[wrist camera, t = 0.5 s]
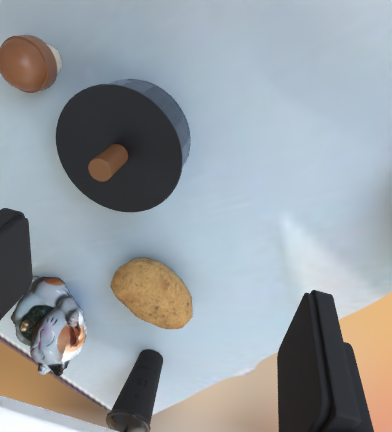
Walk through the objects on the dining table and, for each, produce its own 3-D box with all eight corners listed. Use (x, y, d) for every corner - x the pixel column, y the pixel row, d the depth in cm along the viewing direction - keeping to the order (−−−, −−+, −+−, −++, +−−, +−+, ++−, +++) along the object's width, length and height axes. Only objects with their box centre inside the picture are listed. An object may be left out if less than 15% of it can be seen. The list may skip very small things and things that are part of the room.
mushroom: (17, 47, 44) (-28, 52, 37) (53, 24, 42) (11, 26, 35) (45, 92, 46) (7, 105, 40) (80, 73, 44) (45, 83, 38)
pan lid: (36, 115, 42) (2, 129, 36) (144, 57, 36) (123, 64, 31) (103, 222, 48) (82, 247, 42) (205, 186, 42) (196, 210, 37)
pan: (65, 107, 47) (38, 119, 41) (159, 58, 41) (142, 64, 36) (120, 198, 52) (101, 220, 47) (208, 166, 47) (200, 186, 42)
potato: (177, 313, 62) (165, 350, 55) (113, 267, 59) (93, 299, 53) (212, 285, 57) (204, 321, 50) (145, 233, 55) (126, 264, 48)
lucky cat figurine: (40, 261, 62) (35, 318, 51) (100, 282, 68) (107, 337, 57) (1, 320, 65) (-12, 385, 54) (61, 334, 72) (61, 396, 61)
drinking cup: (170, 373, 71) (138, 486, 54) (134, 366, 72) (92, 475, 55) (169, 348, 67) (134, 461, 50) (132, 341, 68) (85, 449, 51)
